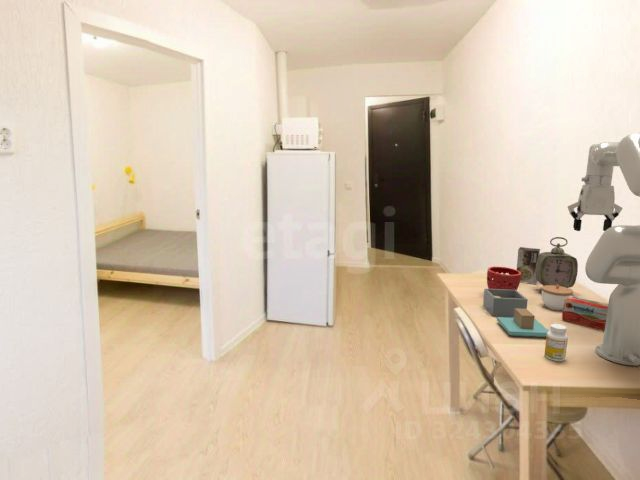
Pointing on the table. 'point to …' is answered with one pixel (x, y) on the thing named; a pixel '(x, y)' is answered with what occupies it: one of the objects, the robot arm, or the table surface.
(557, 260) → the tabletop clock
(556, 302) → the lidded jar
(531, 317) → the teal base with post
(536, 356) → the table surface
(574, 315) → the medicine box
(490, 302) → the storage box
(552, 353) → the supplement bottle
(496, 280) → the plant pot
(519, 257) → the coffee box
